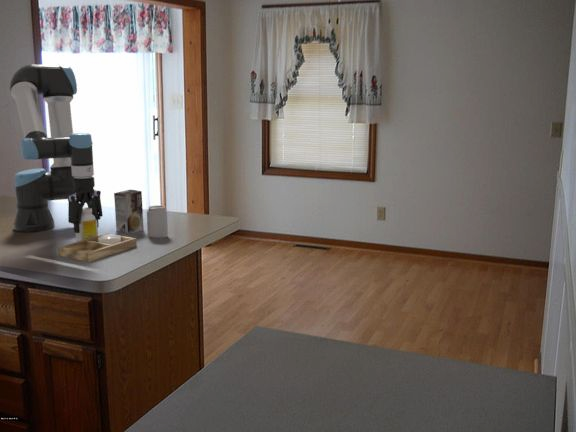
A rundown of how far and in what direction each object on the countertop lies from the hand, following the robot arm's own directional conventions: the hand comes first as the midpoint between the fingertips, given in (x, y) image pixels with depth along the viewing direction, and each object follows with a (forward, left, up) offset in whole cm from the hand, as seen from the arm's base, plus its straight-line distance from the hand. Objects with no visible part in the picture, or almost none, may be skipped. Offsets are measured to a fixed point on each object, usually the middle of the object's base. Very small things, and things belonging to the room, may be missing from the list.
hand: (87, 238), depth 219 cm
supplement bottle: (0, 0, -2) cm, 2 cm away
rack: (+14, -8, -1) cm, 16 cm away
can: (+17, +19, -2) cm, 26 cm away
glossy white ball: (+14, -3, 0) cm, 14 cm away
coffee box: (+2, +20, -2) cm, 20 cm away
